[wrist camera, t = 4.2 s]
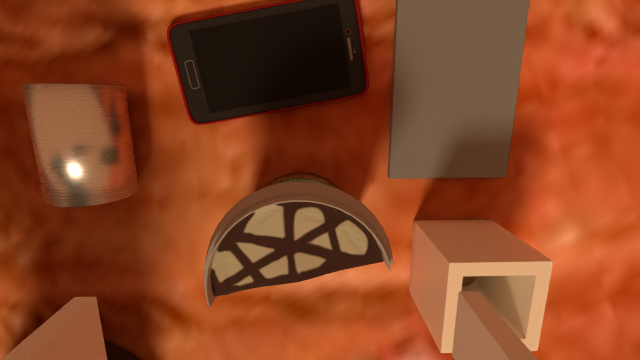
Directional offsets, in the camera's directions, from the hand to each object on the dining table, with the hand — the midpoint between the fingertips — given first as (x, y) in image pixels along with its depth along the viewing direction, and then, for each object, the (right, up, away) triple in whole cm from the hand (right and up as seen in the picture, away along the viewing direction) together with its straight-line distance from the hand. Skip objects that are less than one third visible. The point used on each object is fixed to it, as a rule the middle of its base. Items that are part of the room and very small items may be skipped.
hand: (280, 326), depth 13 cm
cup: (+13, -2, +19) cm, 23 cm away
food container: (-1, +4, +17) cm, 18 cm away
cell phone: (-2, +15, +15) cm, 21 cm away
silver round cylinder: (-16, +9, +15) cm, 24 cm away
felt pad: (+12, +13, +15) cm, 23 cm away
